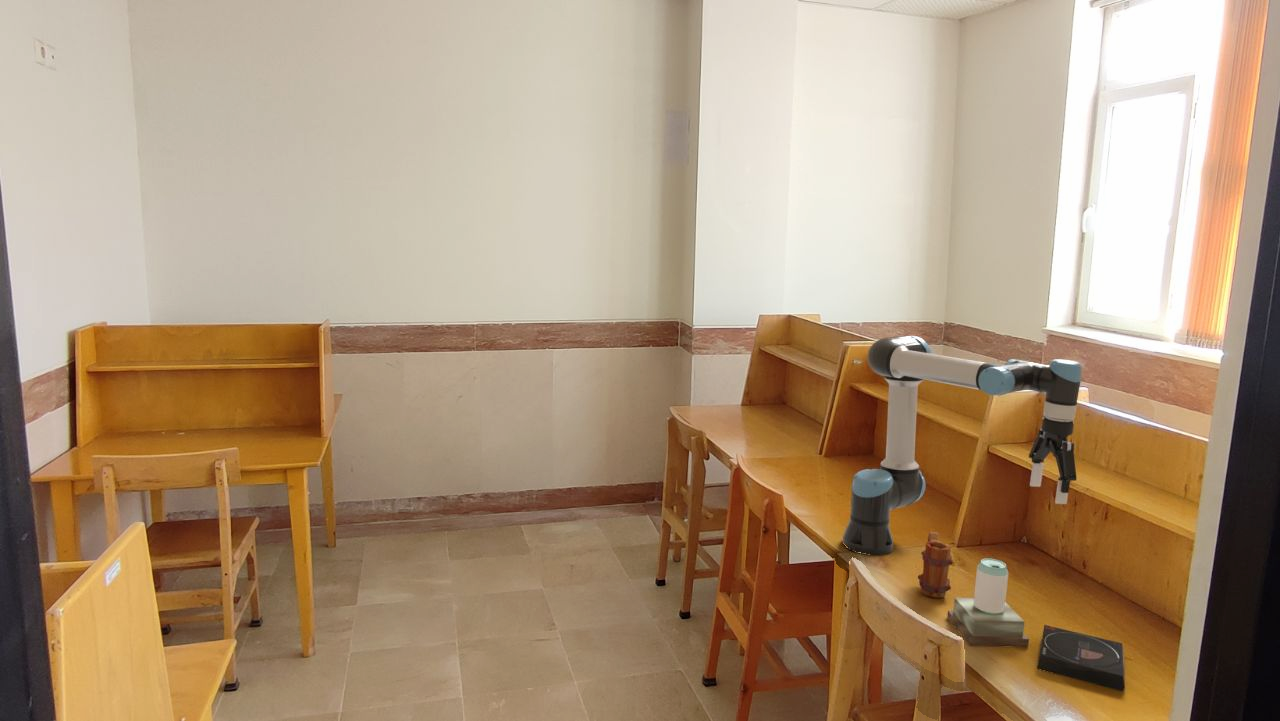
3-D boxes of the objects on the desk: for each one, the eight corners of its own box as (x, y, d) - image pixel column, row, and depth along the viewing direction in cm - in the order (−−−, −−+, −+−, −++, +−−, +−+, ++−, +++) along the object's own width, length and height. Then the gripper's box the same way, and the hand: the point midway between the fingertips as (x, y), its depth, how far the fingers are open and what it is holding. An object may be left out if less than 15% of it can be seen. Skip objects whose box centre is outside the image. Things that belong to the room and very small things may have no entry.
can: (1010, 611, 201) (1015, 565, 199) (992, 618, 197) (997, 571, 195) (984, 600, 207) (989, 555, 205) (967, 606, 203) (971, 560, 201)
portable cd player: (1124, 693, 178) (1126, 676, 178) (1037, 670, 187) (1039, 654, 186) (1123, 659, 192) (1125, 644, 192) (1042, 639, 201) (1044, 624, 200)
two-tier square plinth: (947, 617, 210) (949, 595, 209) (1001, 618, 210) (1003, 596, 209) (970, 645, 196) (972, 622, 195) (1028, 646, 196) (1030, 623, 195)
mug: (951, 603, 217) (957, 550, 215) (919, 600, 219) (924, 546, 216) (943, 580, 232) (948, 529, 229) (913, 577, 233) (917, 526, 231)
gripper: (1099, 431, 205) (1086, 511, 209) (1048, 407, 230) (1038, 479, 234) (1069, 430, 205) (1057, 510, 209) (1022, 406, 229) (1012, 478, 233)
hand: (1047, 494), depth 221 cm, fingers open, 13 cm apart
